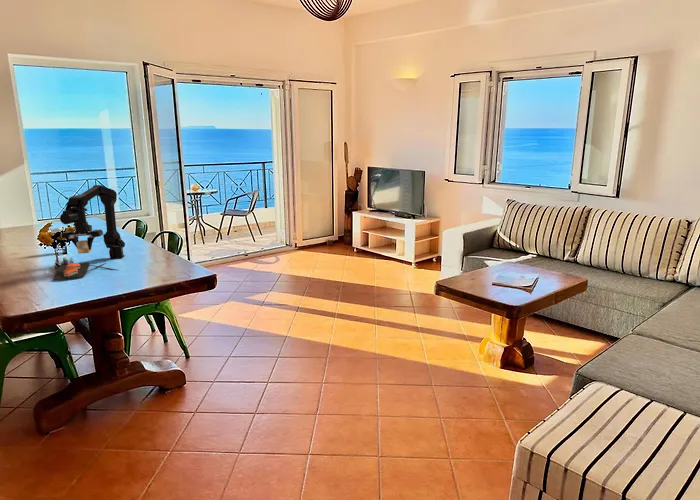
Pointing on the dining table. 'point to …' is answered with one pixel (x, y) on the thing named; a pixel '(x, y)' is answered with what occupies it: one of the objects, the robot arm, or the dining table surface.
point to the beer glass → (57, 230)
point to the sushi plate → (74, 270)
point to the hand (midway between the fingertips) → (84, 249)
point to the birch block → (83, 246)
